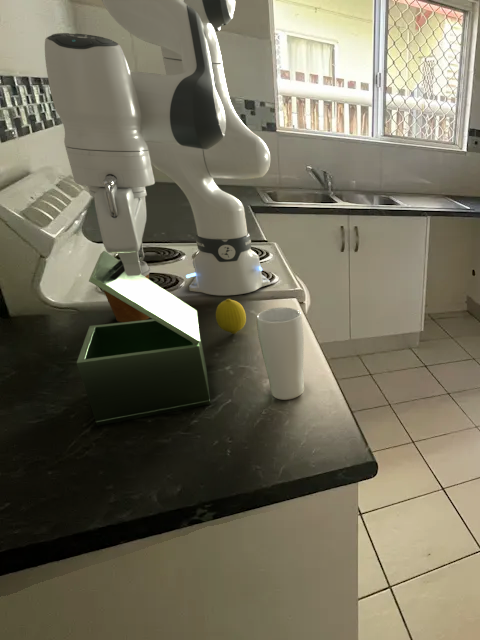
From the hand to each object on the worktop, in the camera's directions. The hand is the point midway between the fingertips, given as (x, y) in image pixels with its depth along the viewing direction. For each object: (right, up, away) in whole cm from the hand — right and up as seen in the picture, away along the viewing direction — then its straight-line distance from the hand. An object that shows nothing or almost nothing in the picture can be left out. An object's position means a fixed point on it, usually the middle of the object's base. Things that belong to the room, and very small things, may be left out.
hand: (136, 266), depth 71 cm
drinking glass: (+17, -21, +12) cm, 30 cm away
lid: (0, -5, +2) cm, 5 cm away
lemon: (-3, -10, +31) cm, 33 cm away
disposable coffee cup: (-27, -6, +34) cm, 44 cm away
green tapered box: (-3, -20, +9) cm, 22 cm away
